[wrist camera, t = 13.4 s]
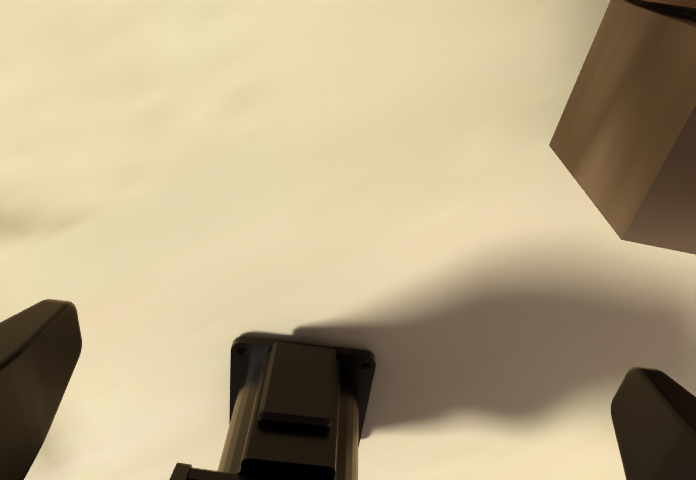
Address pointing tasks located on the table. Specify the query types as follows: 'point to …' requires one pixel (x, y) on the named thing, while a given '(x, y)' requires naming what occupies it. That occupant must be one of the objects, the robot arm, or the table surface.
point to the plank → (676, 2)
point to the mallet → (637, 125)
